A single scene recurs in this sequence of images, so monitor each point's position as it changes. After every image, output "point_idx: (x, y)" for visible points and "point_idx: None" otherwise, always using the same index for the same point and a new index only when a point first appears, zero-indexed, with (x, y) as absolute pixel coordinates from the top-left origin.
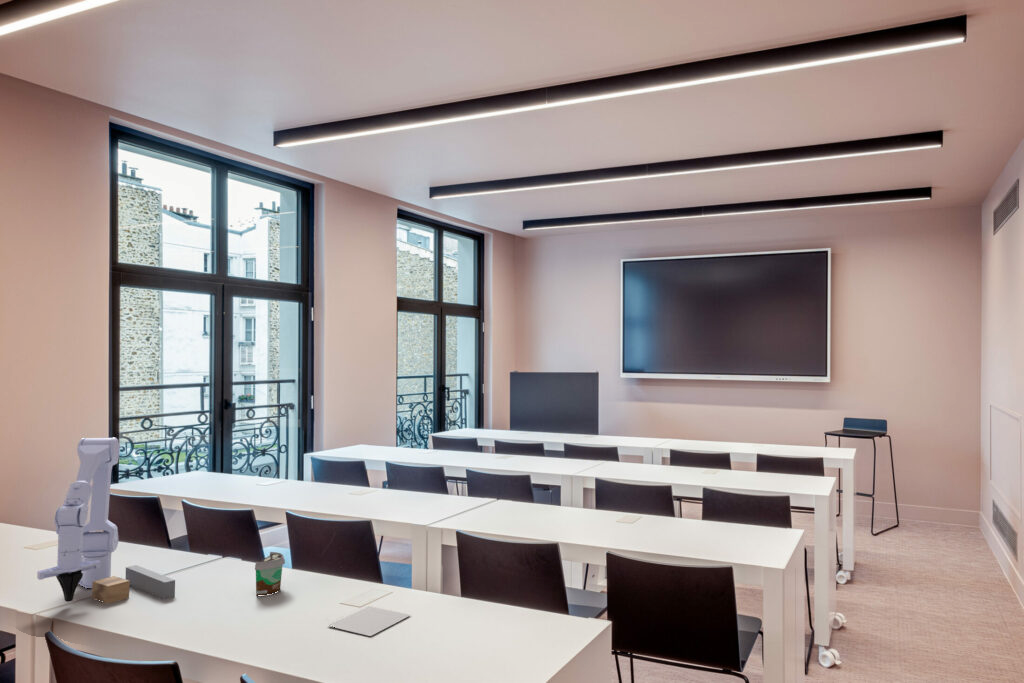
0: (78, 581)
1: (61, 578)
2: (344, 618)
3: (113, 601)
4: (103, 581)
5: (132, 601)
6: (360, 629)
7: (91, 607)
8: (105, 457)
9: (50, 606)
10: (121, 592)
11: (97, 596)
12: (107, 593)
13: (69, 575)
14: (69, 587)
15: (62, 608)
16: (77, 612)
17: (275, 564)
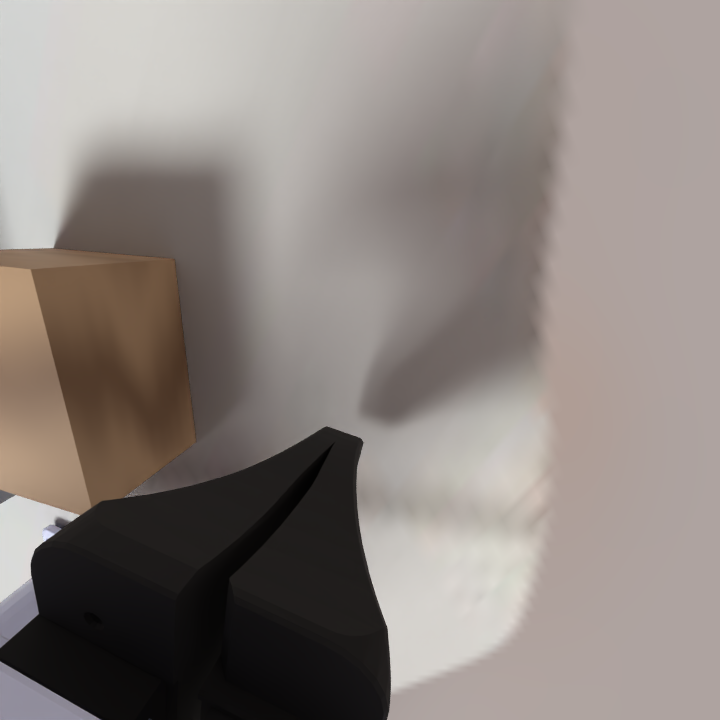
0: (188, 494)
1: (380, 705)
2: None
3: (133, 256)
4: (36, 438)
5: (52, 145)
6: None
7: (268, 286)
8: None
9: (397, 542)
10: (36, 254)
11: (169, 394)
12: (105, 269)
13: (210, 683)
14: (311, 501)
15: (383, 448)
16: (381, 269)
17: None
